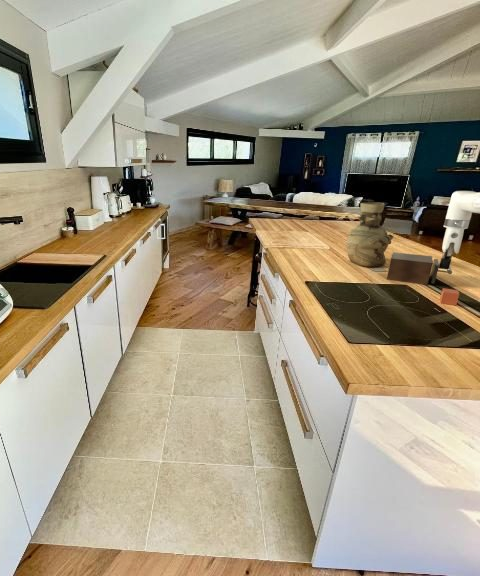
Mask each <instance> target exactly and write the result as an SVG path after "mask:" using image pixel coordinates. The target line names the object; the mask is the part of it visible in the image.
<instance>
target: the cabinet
mask: <svg viewBox="0 0 480 576" xmlns="http://www.w3.org/2000/svg"><path fill="white" fill-rule="evenodd" d="M433 262H434V259H433V256H432V255H423V254H414V253H406V252H405V253H403V252H395V251H394V252H392V254H391V257H390V262H389V266H388V271H387V275H386V281H387V280H388V281H395V282H402V283H409V284H416V285H421V286H422V285H423V286H428V285H429V281H430V274H431V270H432V266H433Z"/></svg>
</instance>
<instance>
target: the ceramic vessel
mask: <svg viewBox="0 0 480 576" xmlns="http://www.w3.org/2000/svg"><path fill="white" fill-rule="evenodd" d="M384 208H385V203H384V202H360V212H361V213H360V216H359V219H358V220H359V225H356V226H355V227H353V228H352V229H351V230H350V231H349V233H348V236H347V239H346V253H347V258H348V259H349V261H350V262H351V263H352V264H355V265H358V266H360V267H364V268H374V267H381V266H382V267H383V266H384V265H385V264H386V263H387V259H386V255H385V252H386V250H388V247H389V245H391V244H392V240H393V239H394V235H392V234H388V232H387V230H386V229H385V228H384V227H382V226H381V222H382V213H383V212H384Z"/></svg>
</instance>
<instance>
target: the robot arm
mask: <svg viewBox="0 0 480 576" xmlns="http://www.w3.org/2000/svg"><path fill="white" fill-rule="evenodd" d="M473 213H474V214H480V191H479V192H476V191H472V190H456V191H454V192H452V194H451V197H450V201H449V205H448V208H447V211H446V215H445V220H444V223H443V228H446V229H445V232H444V236H443V241H442V245H441V249H442V257H441V258H440V261H439V268H443V269H442V270H447V269H449V267H450V266H451V263H452V258H453V254H454V253H455V254H456V255H457V254H458V255H459V253H460V249H461V245H462V242H463V241H462V240H463V237H464V233H465V232H464V231H465V230H466V229H468V228H469V226H470V225H469V224H470V221H471V219H472V214H473ZM439 268H438V269H439ZM450 268H451V267H450Z"/></svg>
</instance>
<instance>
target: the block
mask: <svg viewBox="0 0 480 576" xmlns="http://www.w3.org/2000/svg"><path fill="white" fill-rule="evenodd" d="M459 297H460V292H459V290H458V289H452V288H444V287H443V288H442V289H441V294H440V298H439V303H440V304H445V305H449V306H456V307H457V303H458V300H459Z"/></svg>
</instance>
